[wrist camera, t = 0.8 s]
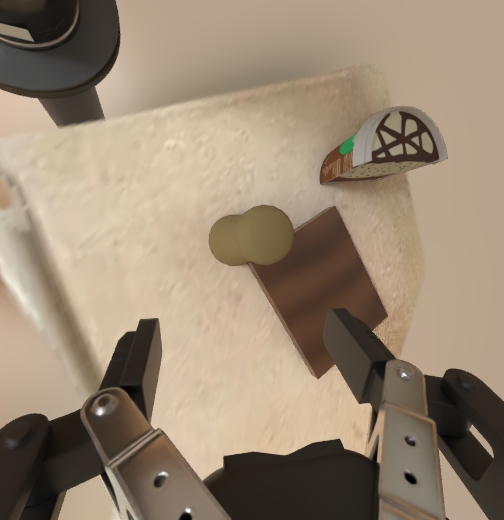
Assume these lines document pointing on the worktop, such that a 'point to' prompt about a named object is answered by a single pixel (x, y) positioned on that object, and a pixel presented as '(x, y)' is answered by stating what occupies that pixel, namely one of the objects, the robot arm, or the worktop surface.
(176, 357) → the worktop surface
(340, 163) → the food container
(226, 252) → the cork
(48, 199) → the worktop surface
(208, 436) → the worktop surface
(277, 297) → the cutting board
